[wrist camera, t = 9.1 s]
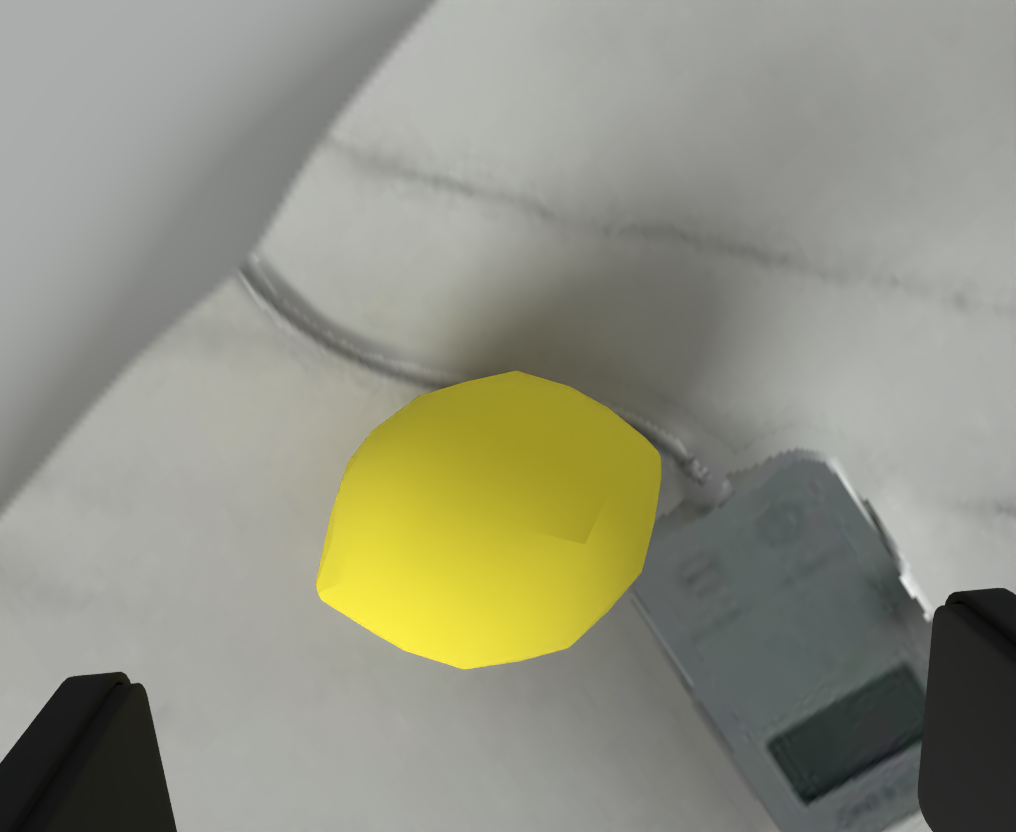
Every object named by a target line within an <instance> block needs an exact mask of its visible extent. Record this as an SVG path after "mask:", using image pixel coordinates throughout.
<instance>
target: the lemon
mask: <svg viewBox="0 0 1016 832" xmlns="http://www.w3.org/2000/svg"><path fill="white" fill-rule="evenodd" d="M660 483H661V458H660V454H659V453H658V451H657V450H656V449H655V448H654V446H653V445H652V444H651V443H650V442H649V441H648V440H647V439H646V438H645V437H644V436H643V435H641V434H640V433H639V432H638V431H636V430H635V429H634V428H633V427H632V426H630V425H629V424H628V423H627V422H625V421H624V420H623V419H622V418H620V417H619V416H618V415H617V414H615V413H614V412H613V411H612V410H611V409H609V408H608V407H606V406H604V405H603V404H601V403H599V402H597V401H595V400H593V399H592V398H590V397H588V396H586V395H584V394H583V393H581V392H579V391H577V390H575V389H573V388H572V387H570V386H567V385H564V384H560V383H557V382H553V381H550V380H547V379H543V378H540V377H537V376H533V375H530V374H526V373H523V372H520V371H512V372H507V373H503V374H498V375H494V376H489V377H485V378H480V379H475V380H471V381H466V382H463V383H460V384H456V385H453V386H450V387H447V388H444V389H440V390H437V391H434V392H431V393H427V394H424V395H421V396H418V397H417V398H416V399H414V400H413V401H412V402H410V403H409V404H408V405H406V406H405V407H404V408H402V409H401V410H400V411H398V412H397V413H395V414H394V415H393V416H391V417H390V418H389V419H387V420H386V421H385V422H383V423H382V424H381V425H379V426H378V427H377V428H375V429H374V430H373V431H372V432H371V433H370V434H369V436H368V437H367V438H366V439H365V441H364V442H363V443H362V445H361V446H360V447H359V449H358V450H357V451H356V453H355V454H354V455H353V456H352V458H351V459H350V460H349V462H348V463H347V466H346V469H345V473H344V476H343V479H342V482H341V485H340V488H339V491H338V494H337V497H336V500H335V503H334V506H333V510H332V513H331V516H330V520H329V525H328V529H327V534H326V539H325V543H324V548H323V552H322V557H321V562H320V566H319V571H318V575H317V580H316V587H317V591H318V594H319V596H320V598H321V599H322V600H323V601H324V602H325V603H327V604H329V605H330V606H332V607H333V608H335V609H336V610H338V611H340V612H341V613H343V614H344V615H346V616H348V617H349V618H351V619H352V620H354V621H355V622H357V623H359V624H360V625H362V626H363V627H365V628H366V629H368V630H370V631H371V632H373V633H374V634H376V635H378V636H380V637H381V638H383V639H385V640H387V641H388V642H390V643H392V644H394V645H395V646H397V647H399V648H401V649H402V650H404V651H408V652H411V653H414V654H417V655H420V656H423V657H426V658H429V659H433V660H436V661H439V662H442V663H445V664H448V665H451V666H454V667H458V668H461V669H470V668H477V667H484V666H490V665H497V664H504V663H511V662H517V661H523V660H526V659H530V658H534V657H537V656H541V655H545V654H548V653H552V652H556V651H559V650H563V649H567V648H569V647H570V646H571V645H572V644H573V643H574V642H575V641H577V640H578V639H579V638H580V637H581V636H582V635H583V634H584V633H585V632H586V631H587V630H588V629H589V628H590V627H592V626H593V625H594V624H595V623H596V622H597V621H598V620H599V619H600V618H601V617H602V616H603V615H604V614H605V613H607V612H608V611H609V610H610V609H611V607H612V606H613V605H614V604H615V603H616V602H617V600H618V599H619V598H620V597H621V596H622V595H623V593H624V592H625V591H626V590H627V589H628V587H629V586H630V585H631V584H632V583H633V582H634V580H635V579H636V578H637V577H638V576H639V575H640V573H641V572H642V569H643V565H644V561H645V557H646V553H647V549H648V545H649V541H650V537H651V533H652V529H653V526H654V520H655V514H656V508H657V502H658V496H659V490H660Z"/></svg>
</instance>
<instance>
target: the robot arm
mask: <svg viewBox="0 0 1016 832" xmlns="http://www.w3.org/2000/svg"><path fill="white" fill-rule="evenodd" d="M918 799H919V805H920V808H921V811H922V814H923V816H924V818H925V821H926V822H927V824H928V825H929V827H930V828H931V830H932V831H933V832H1016V595H1015V594H1014V593H1012V592H1011V591H1009V590H1007V589H1005V588H992V589H982V590H971V591H961V592H954V593H952V594H951V595H949V597H948V599H947V600H946V602H945V605H943V606H940V607H938V608H937V609H936V611H935V613H934V617H933V626H932V637H931V648H930V659H929V670H928V681H927V693H926V704H925V715H924V726H923V737H922V748H921V759H920V770H919V781H918ZM0 832H177V830H176V825H175V820H174V816H173V811H172V807H171V802H170V798H169V793H168V788H167V784H166V779H165V775H164V770H163V766H162V761H161V756H160V752H159V747H158V743H157V738H156V734H155V729H154V724H153V720H152V715H151V711H150V706H149V702H148V697H147V693H146V690H145V688H144V687H143V685H142V684H140V683H134V684H131V683H130V680H129V678H128V677H127V675H126V674H124V673H122V672H113V673H103V674H92V675H82V676H73V677H69V678H67V679H66V680H65V681H64V682H63V683H62V684H61V685H60V687H59V688H58V689H57V690H56V692H55V693H54V694H53V696H52V697H51V698H50V700H49V701H48V702H47V703H46V705H45V706H44V707H43V709H42V710H41V711H40V713H39V714H38V715H37V716H36V718H35V719H34V720H33V722H32V723H31V724H30V726H29V727H28V728H27V729H26V731H25V732H24V733H23V735H22V736H21V737H20V739H19V740H18V741H17V742H16V744H15V745H14V746H13V748H12V749H11V750H10V752H9V753H8V754H7V755H6V757H5V758H4V759H3V761H2V762H1V763H0Z"/></svg>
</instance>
